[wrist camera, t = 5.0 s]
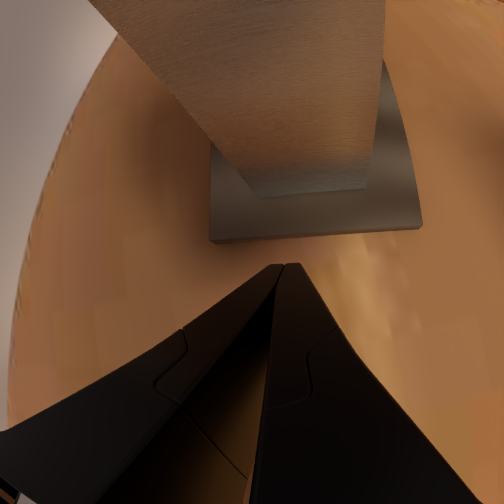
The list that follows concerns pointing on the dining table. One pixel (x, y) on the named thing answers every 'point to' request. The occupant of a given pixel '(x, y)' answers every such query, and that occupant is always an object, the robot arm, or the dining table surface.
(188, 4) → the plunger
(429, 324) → the dining table surface
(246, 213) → the launcher
